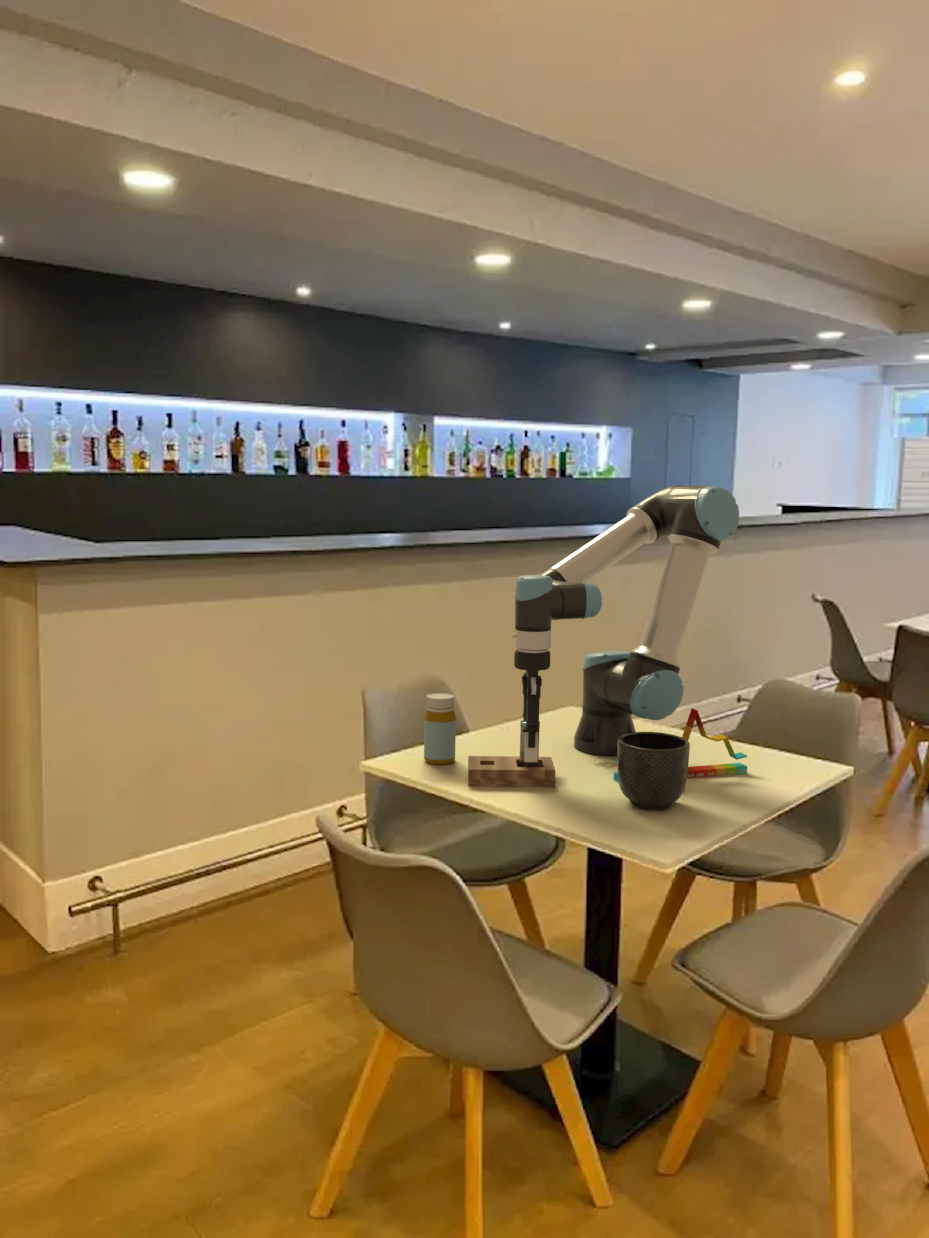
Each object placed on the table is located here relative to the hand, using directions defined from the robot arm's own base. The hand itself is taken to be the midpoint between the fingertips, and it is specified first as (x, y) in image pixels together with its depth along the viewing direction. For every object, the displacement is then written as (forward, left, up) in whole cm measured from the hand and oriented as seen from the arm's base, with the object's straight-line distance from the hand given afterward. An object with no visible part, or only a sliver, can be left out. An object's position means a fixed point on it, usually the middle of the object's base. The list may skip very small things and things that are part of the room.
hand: (529, 757), depth 207 cm
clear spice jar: (0, 0, -4) cm, 4 cm away
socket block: (+4, 0, -5) cm, 6 cm away
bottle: (+19, -13, -5) cm, 24 cm away
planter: (-23, +15, -5) cm, 28 cm away
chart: (-33, -3, -5) cm, 34 cm away
